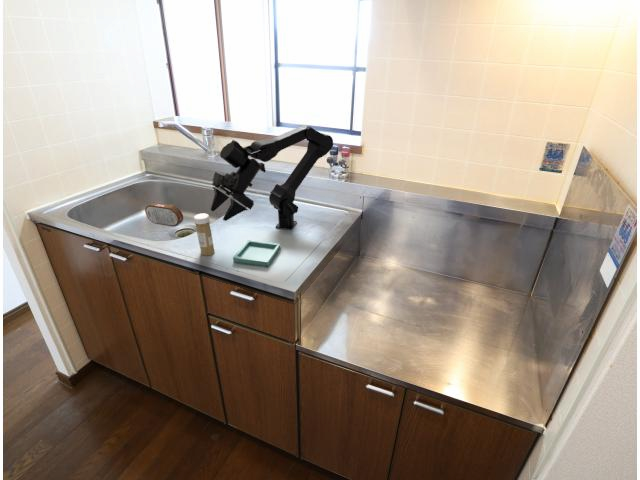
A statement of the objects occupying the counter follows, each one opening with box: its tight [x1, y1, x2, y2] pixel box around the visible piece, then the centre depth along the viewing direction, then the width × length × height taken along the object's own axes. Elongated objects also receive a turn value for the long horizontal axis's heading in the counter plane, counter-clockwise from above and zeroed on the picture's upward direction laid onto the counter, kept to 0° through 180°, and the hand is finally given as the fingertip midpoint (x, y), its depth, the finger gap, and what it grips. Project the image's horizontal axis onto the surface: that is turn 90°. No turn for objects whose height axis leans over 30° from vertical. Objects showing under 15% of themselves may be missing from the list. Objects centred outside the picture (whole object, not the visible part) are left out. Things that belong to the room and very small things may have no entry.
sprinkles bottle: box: [193, 212, 215, 256], centre depth 120 cm, size 5×5×13 cm
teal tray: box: [232, 239, 281, 268], centre depth 121 cm, size 12×12×2 cm
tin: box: [144, 201, 184, 227], centre depth 139 cm, size 15×3×8 cm, turn 73°
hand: (217, 215), depth 120 cm, fingers open, 9 cm apart
